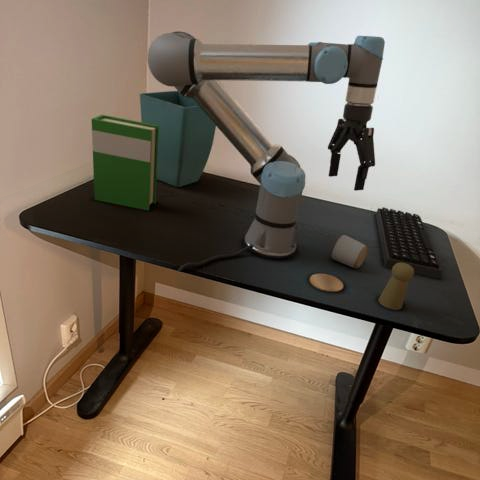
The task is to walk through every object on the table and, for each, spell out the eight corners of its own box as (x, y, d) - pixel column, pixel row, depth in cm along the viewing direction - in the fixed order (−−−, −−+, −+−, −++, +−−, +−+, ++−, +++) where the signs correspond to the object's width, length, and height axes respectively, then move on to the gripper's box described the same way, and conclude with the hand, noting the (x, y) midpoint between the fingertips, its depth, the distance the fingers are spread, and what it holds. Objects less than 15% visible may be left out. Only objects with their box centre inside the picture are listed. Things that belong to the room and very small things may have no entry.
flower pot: (178, 193, 158) (185, 106, 142) (136, 177, 166) (138, 92, 150) (212, 183, 173) (221, 103, 157) (172, 168, 180) (177, 90, 164)
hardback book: (155, 202, 148) (159, 125, 134) (148, 210, 142) (151, 130, 128) (103, 192, 149) (102, 114, 135) (94, 199, 143) (91, 118, 129)
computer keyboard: (438, 278, 132) (443, 267, 130) (384, 266, 133) (389, 255, 131) (417, 223, 169) (421, 213, 167) (375, 214, 170) (379, 205, 168)
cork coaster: (319, 293, 115) (319, 291, 114) (304, 275, 121) (304, 274, 121) (349, 291, 118) (349, 290, 117) (332, 274, 124) (333, 272, 124)
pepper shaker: (403, 302, 117) (419, 264, 111) (400, 312, 113) (416, 274, 106) (380, 294, 119) (394, 257, 113) (376, 304, 114) (391, 266, 108)
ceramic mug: (354, 273, 127) (363, 248, 123) (328, 262, 130) (335, 237, 126) (367, 262, 135) (376, 238, 130) (343, 252, 138) (350, 228, 134)
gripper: (400, 112, 113) (381, 195, 125) (345, 96, 132) (333, 170, 144) (376, 112, 110) (359, 197, 122) (323, 96, 129) (312, 171, 141)
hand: (345, 182), depth 133 cm, fingers open, 13 cm apart
